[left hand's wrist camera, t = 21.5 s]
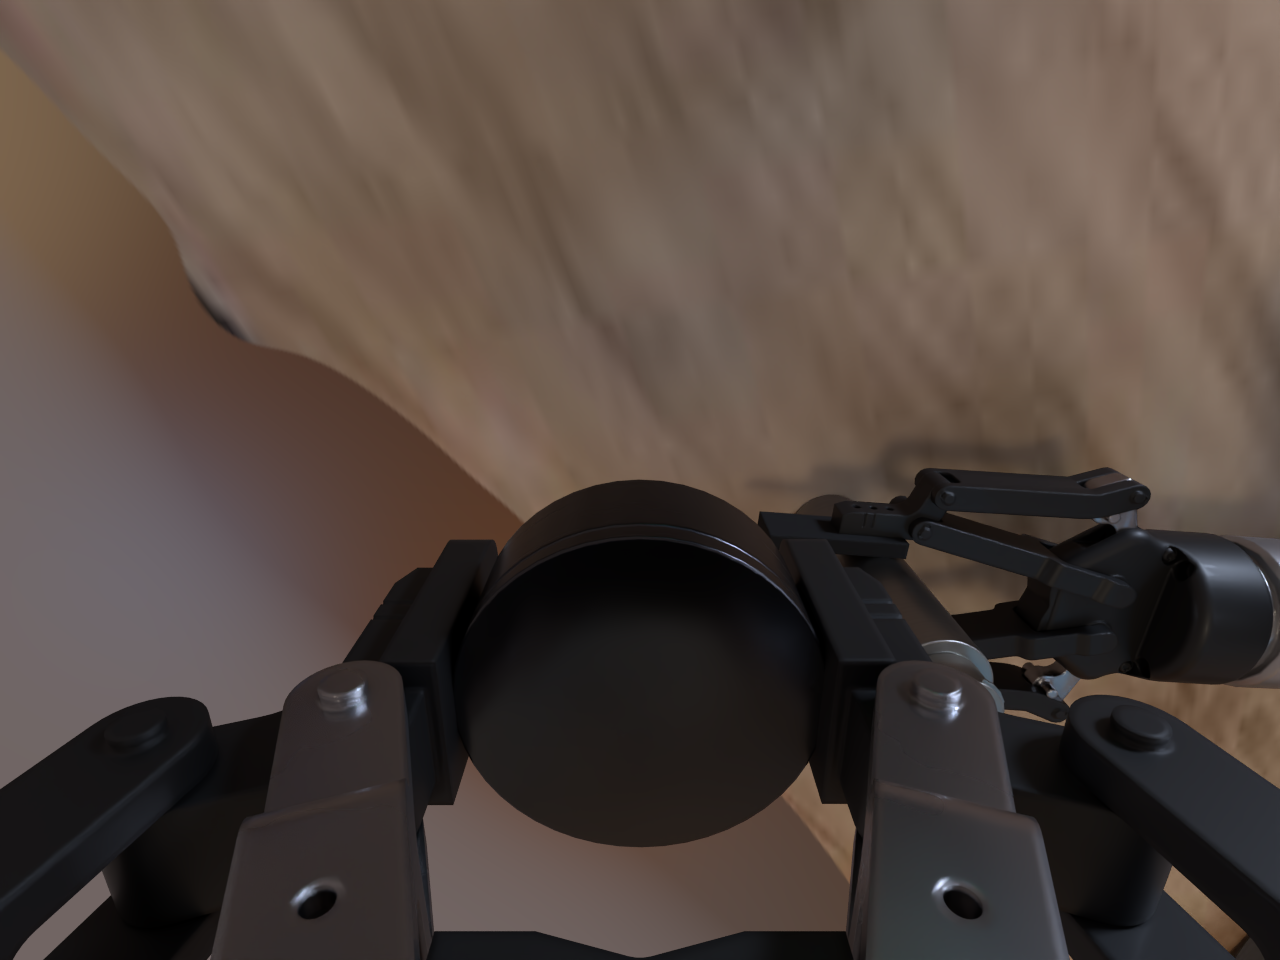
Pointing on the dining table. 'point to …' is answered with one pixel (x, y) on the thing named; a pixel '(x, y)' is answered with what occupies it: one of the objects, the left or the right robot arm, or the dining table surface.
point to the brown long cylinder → (918, 608)
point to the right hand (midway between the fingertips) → (756, 578)
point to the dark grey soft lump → (1249, 952)
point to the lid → (639, 668)
